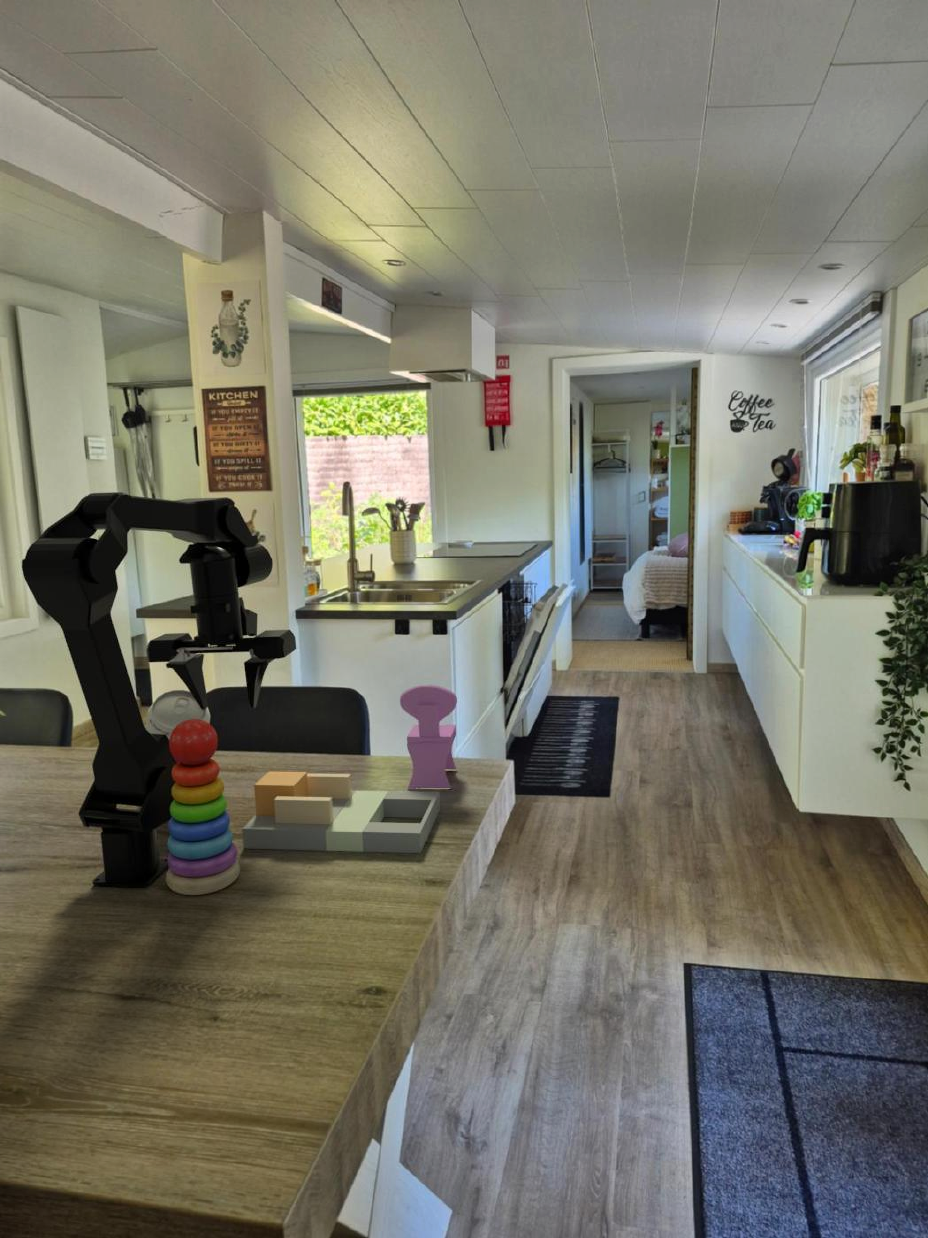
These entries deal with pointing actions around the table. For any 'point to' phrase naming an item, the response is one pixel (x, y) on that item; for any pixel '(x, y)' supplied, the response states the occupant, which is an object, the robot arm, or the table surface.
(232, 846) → the stacking toy
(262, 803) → the block
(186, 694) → the supplement can
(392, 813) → the tunnel board
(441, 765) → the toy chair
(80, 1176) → the table surface
